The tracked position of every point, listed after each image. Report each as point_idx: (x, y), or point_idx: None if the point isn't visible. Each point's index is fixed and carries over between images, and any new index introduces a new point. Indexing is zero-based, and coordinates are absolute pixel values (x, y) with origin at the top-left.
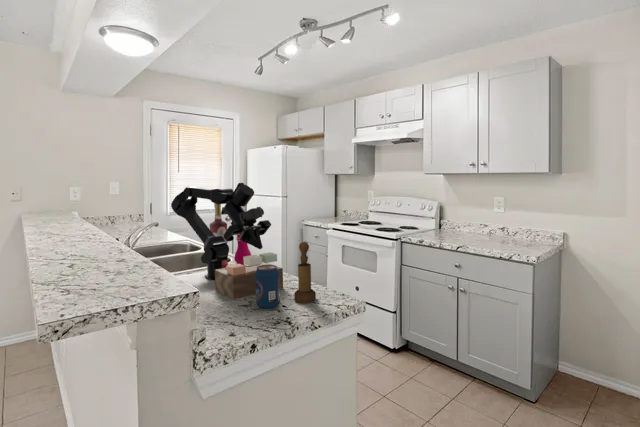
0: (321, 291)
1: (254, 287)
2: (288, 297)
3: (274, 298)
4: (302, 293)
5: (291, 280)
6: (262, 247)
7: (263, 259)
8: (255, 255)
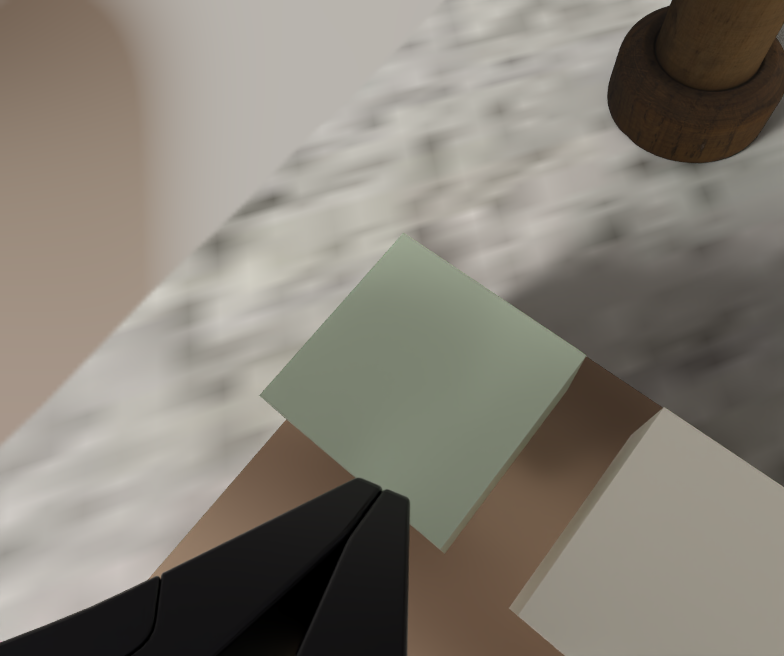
0: (466, 60)
1: None
2: (668, 220)
3: None
4: (778, 47)
5: (194, 346)
6: (359, 483)
7: (528, 438)
8: (581, 579)
